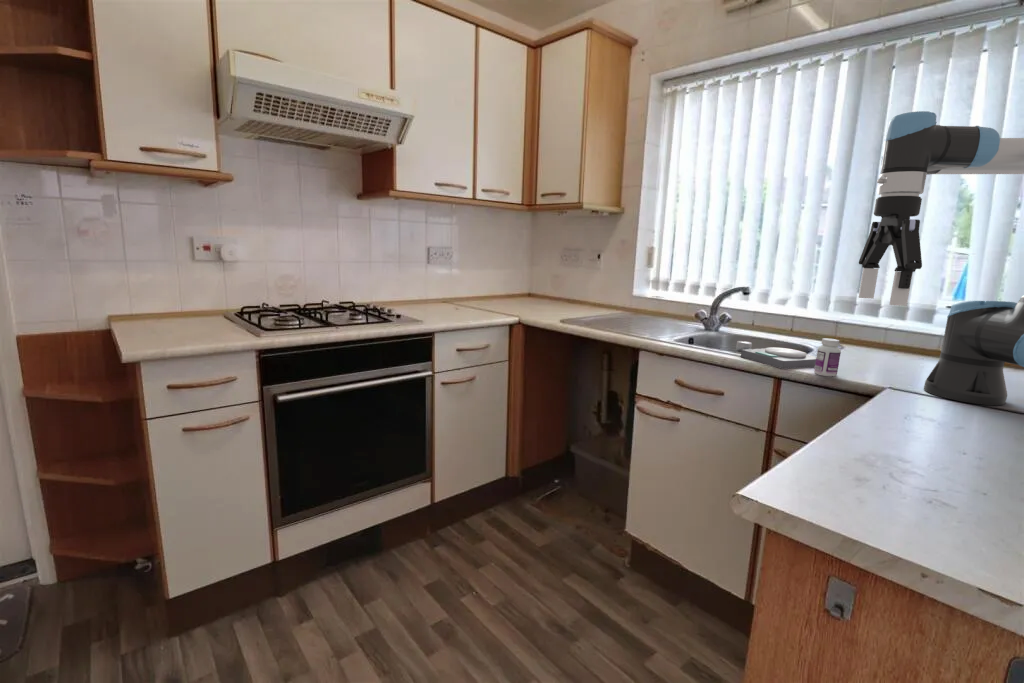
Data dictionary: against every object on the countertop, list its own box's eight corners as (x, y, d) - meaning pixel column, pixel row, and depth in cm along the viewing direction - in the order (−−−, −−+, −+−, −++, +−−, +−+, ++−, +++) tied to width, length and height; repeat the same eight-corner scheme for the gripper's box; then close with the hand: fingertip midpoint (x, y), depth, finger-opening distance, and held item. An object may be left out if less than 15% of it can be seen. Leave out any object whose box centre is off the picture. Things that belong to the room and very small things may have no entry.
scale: (778, 354, 165) (779, 345, 164) (822, 366, 151) (823, 356, 151) (740, 356, 159) (741, 347, 158) (782, 368, 145) (784, 358, 145)
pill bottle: (836, 374, 142) (843, 339, 140) (836, 378, 138) (843, 342, 136) (814, 370, 145) (819, 336, 143) (813, 374, 140) (819, 339, 138)
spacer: (743, 349, 171) (744, 340, 170) (753, 352, 167) (755, 343, 166) (732, 350, 169) (734, 341, 168) (743, 353, 165) (744, 344, 164)
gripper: (851, 200, 117) (836, 294, 121) (911, 189, 93) (891, 307, 97) (888, 201, 116) (872, 296, 120) (959, 190, 92) (936, 310, 96)
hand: (881, 301), depth 109 cm, fingers open, 13 cm apart
